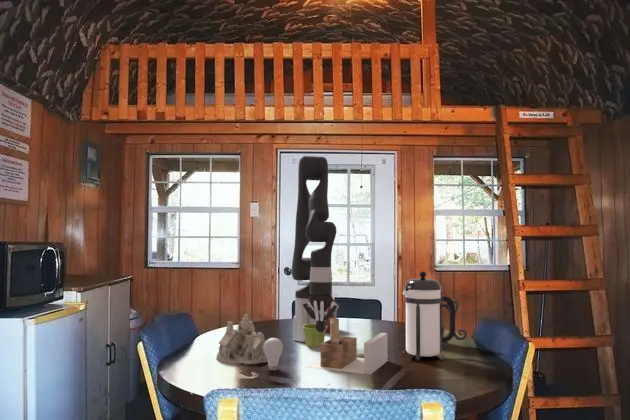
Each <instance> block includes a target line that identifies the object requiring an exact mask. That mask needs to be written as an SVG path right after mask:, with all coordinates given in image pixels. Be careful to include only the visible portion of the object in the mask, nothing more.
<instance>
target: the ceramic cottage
mask: <svg viewBox="0 0 630 420" xmlns="http://www.w3.org/2000/svg"><path fill="white" fill-rule="evenodd" d="M266 341H267V340H266V338H265V335H264V333H263V332H262V331H259V332H256V329H255V325H254V321H253V320H249V315H248V314H247V313H246V314H244V316H243V317H242V321H239V323H238V327H237V329H234V323H233V321H230V320H229V321H227V324H226V331H225V333H224V335H223V337H222V338H221V339H219V341H218V344H219V347H218V353H216V354H217V355H216V358H215V359H216V361H218V362H220V363H221V362H222V363H227V364H228V363H229V364H241V363H244V364H243V365H257V364H262V363H263V364H264V363H268V360H267V357H266V355H265V353H264V350H263V346H264V343H265V342H266Z"/></svg>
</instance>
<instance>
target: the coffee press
mask: <svg viewBox="0 0 630 420" xmlns="http://www.w3.org/2000/svg"><path fill="white" fill-rule="evenodd" d="M426 276H427V273H426V271H423V270H422V271H420V272H419V277H418V278H410V279H408V280H407V281H406V282H405V285H404V289H403V291H402V295H403V296H404V303H405V307H404V310H405V311H404V312H405V314H404V315H405V321H404V322H405V324H404V325H405V329H404V330H405V332H404V333H405V336H404V338H405V339H404V340H405V344H404V345H405V348H404V349H403V351H402V352H401V354H404V353H405V351H406V352H407V354H409V355H411V356H414V357H415V359H414V361H415V362H417V363H420V362H421V360H422V358H423V357H425V358H429V357H437V358H438V359H439V360H441V361H444V360H445V359H446V356H445V354H444V353H443V350H442V349H443V348H442V347H441V342H450V341H451V340H452V339H453V338H454V333H456V315H455V309H456V307H455V303H454V302H453V301H452V300H453V299H452V298H450V297H449V296H444V295H442V296H441V293H442V292H441V291H442V288H443V287H442V285H441V284H440V282H439V281H438V280H437V279H433V278H426ZM441 301H442V302H446V304H447V303H448V305H449V311H448V312H449V314H448V315H449V319H448V320H449V323H448V324H449V326H448V327H449V330H448V334H447V335H446V336H444V337H441ZM440 354H441V356H442V357H443V358H442V357H441V356H440Z"/></svg>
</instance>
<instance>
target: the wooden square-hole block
mask: <svg viewBox="0 0 630 420" xmlns="http://www.w3.org/2000/svg"><path fill="white" fill-rule="evenodd" d="M357 338H358V337H352V336H351V337H350V336H342V335H341V336H340V335H339V345H337V344H330V339H328V340H326V341H324V343H322V344H321V347H320V359H321V367H329V368H337V369H342V368H344V367H345V366H347V365H348V364H350V363H351V362H353V361H354V360H356V359H357V358H358V357H357V353H358V352H357V351H358V349H357V347H358V346H357V345H358V342H357V341H358V339H357Z"/></svg>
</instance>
